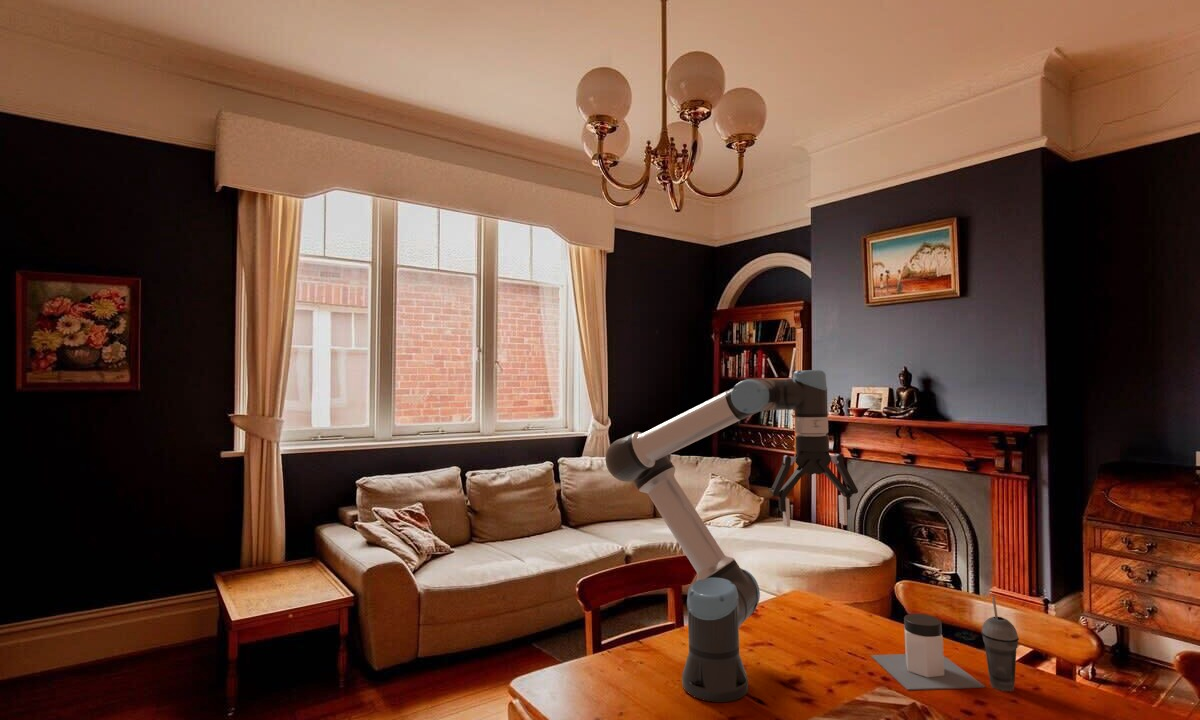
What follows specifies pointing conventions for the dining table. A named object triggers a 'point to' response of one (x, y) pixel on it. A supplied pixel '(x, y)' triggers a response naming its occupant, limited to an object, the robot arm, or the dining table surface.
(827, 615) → the dining table surface
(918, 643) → the jar
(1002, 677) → the beverage cup
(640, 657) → the dining table surface
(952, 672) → the mat
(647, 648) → the dining table surface
